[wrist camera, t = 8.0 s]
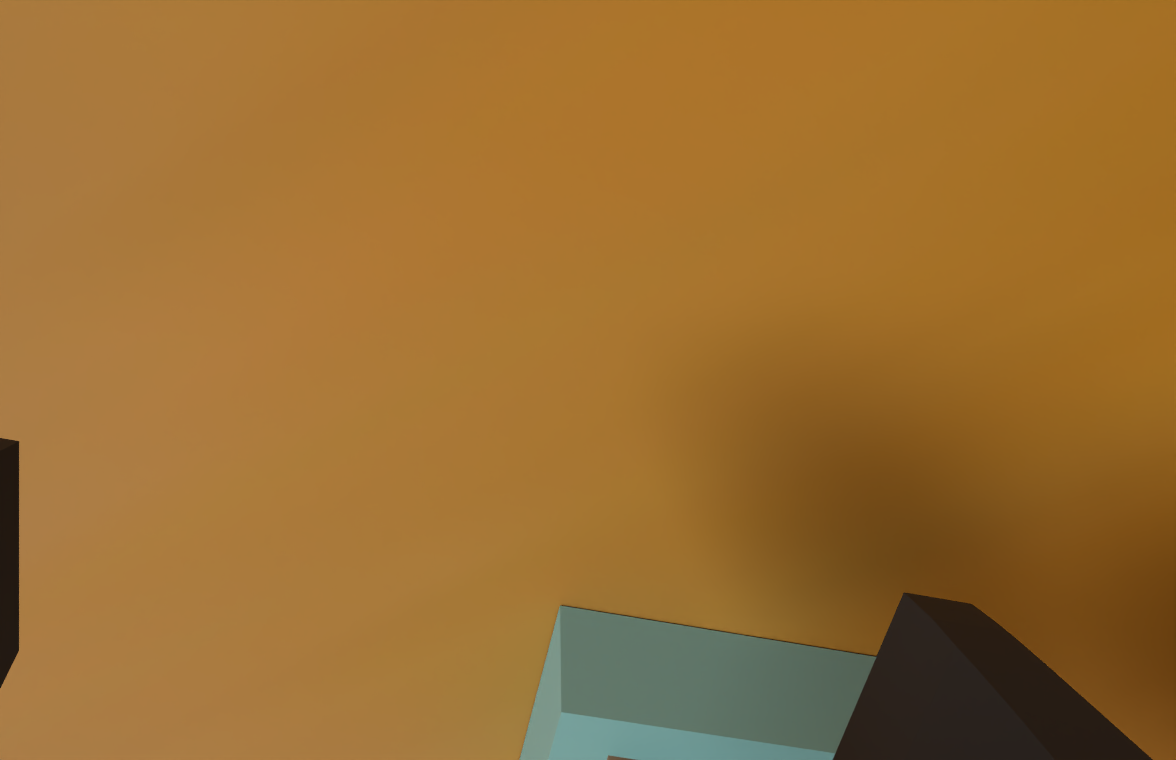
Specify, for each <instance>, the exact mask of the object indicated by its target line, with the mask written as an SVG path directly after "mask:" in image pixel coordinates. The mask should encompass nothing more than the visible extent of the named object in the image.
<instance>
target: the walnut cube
mask: <svg viewBox="0 0 1176 760" xmlns="http://www.w3.org/2000/svg"><path fill="white" fill-rule="evenodd" d="M607 760H636V759H629V758H623V757H616V756H609V755H608V758H607Z"/></svg>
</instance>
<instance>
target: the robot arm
mask: <svg viewBox="0 0 1176 760" xmlns="http://www.w3.org/2000/svg"><path fill="white" fill-rule="evenodd" d="M18 651H19V441H14V440H8V439H2V438H0V688H1V686H2V684H3V682H4V680H5V678H6V676H7V674H8V672H9V669H10V667H11V665H12V663H13V661H14V659H15V657H16V655H17V653H18ZM833 760H1152V759H1151V758H1150V757H1149V756H1148V755H1147V754H1146V753H1145V752H1143V751H1142V750H1141V749H1140V748H1139V747H1138V746H1137V745H1136V744H1134V743H1133V742H1132V741H1131V740H1130V739H1129V738H1128V737H1127V736H1125V735H1124V734H1123V733H1122V732H1121V731H1120V730H1119V729H1118V728H1116V727H1115V726H1114V725H1113V724H1112V723H1111V722H1110V721H1109V720H1108V719H1106V718H1105V717H1104V716H1103V715H1102V714H1101V713H1100V712H1099V711H1097V710H1096V709H1095V708H1094V707H1093V706H1092V705H1091V704H1090V703H1088V702H1087V701H1086V700H1085V699H1084V698H1083V697H1082V696H1081V695H1080V694H1078V693H1077V692H1076V691H1075V690H1074V689H1073V688H1072V687H1071V686H1069V685H1068V684H1067V683H1066V682H1065V681H1064V680H1063V679H1062V678H1060V677H1059V676H1058V675H1057V674H1056V673H1055V672H1054V671H1053V670H1051V669H1050V668H1049V667H1048V666H1047V665H1046V664H1045V663H1043V662H1042V661H1041V660H1040V659H1039V658H1038V657H1037V656H1035V655H1034V654H1033V653H1032V652H1031V651H1030V650H1028V649H1027V648H1026V647H1025V646H1024V645H1023V644H1022V643H1020V642H1019V641H1018V640H1017V639H1016V638H1014V637H1013V636H1012V635H1011V634H1010V633H1008V632H1007V631H1006V630H1005V629H1004V628H1002V627H1001V626H1000V625H999V624H997V623H996V622H995V621H994V620H992V619H991V618H990V617H988V616H987V615H986V614H984V613H983V612H982V611H980V610H979V609H978V608H976V607H975V606H974V605H972V604H969V603H963V602H957V601H951V600H945V599H939V598H934V597H928V596H922V595H916V594H910V593H903V596H902V598H901V600H900V603H899V605H898V607H897V610H896V612H895V615H894V617H893V619H892V622H891V624H890V626H889V629H888V631H887V633H886V636H885V638H884V640H883V643H882V645H881V647H880V650H879V652H878V654H877V657H876V659H875V661H874V664H873V666H872V668H871V671H870V673H869V675H868V678H867V680H866V683H865V685H864V687H863V690H862V692H861V694H860V697H859V699H858V701H857V704H856V706H855V708H854V711H853V713H852V715H851V718H850V720H849V722H848V725H847V727H846V729H845V732H844V734H843V736H842V739H841V741H840V744H839V746H838V748H837V751H836V753H835V755H834V758H833Z"/></svg>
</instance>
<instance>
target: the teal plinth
mask: <svg viewBox="0 0 1176 760" xmlns="http://www.w3.org/2000/svg"><path fill="white" fill-rule="evenodd" d="M875 659H876V657H874V656H868V655H862V654H855V653H849V652H843V651H837V650H831V649H825V648H818V647H812V646H806V645H800V644H794V643H788V642H782V641H775V640H769V639H763V638H757V637H751V636H745V635H739V634H732V633H726V632H720V631H714V630H708V629H702V628H695V627H689V626H683V625H677V624H671V623H665V622H659V621H652V620H646V619H640V618H634V617H628V616H622V615H615V614H609V613H603V612H597V611H591V610H585V609H579V608H572V607H566V606H560V608H559V611H558V615H557V619H556V623H555V627H554V630H553V634H552V638H551V642H550V646H549V649H548V653H547V657H546V661H545V665H544V668H543V672H542V676H541V680H540V684H539V688H538V691H537V695H536V699H535V703H534V707H533V710H532V714H531V718H530V722H529V726H528V729H527V733H526V737H525V741H524V745H523V749H522V752H521V756H520V760H607V758H608V755H609V756H616V757H623V758H629V759H636V760H833V758H834V755H835V753H836V751H837V748H838V746H839V744H840V741H841V739H842V736H843V734H844V732H845V729H846V727H847V725H848V722H849V720H850V718H851V715H852V713H853V711H854V708H855V706H856V704H857V701H858V699H859V697H860V694H861V692H862V690H863V687H864V685H865V683H866V680H867V678H868V675H869V673H870V671H871V668H872V666H873V664H874V661H875Z"/></svg>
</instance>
